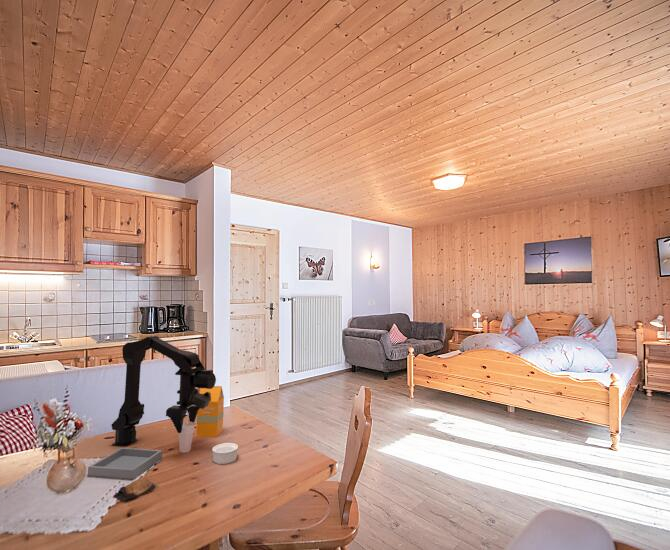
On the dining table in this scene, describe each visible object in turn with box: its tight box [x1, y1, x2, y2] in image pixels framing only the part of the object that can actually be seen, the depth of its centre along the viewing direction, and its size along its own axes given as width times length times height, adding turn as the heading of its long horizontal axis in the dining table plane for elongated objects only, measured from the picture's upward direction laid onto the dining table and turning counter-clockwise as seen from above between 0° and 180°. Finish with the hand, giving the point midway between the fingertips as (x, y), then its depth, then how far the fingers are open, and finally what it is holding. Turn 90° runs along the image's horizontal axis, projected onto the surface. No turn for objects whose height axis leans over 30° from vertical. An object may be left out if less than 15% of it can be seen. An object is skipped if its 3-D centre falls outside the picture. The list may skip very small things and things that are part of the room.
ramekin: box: [211, 442, 239, 465], centre depth 131 cm, size 9×9×4 cm
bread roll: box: [112, 477, 160, 504], centre depth 108 cm, size 11×8×4 cm
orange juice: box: [195, 385, 225, 438], centre depth 156 cm, size 8×9×20 cm
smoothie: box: [177, 412, 196, 454], centre depth 138 cm, size 6×6×14 cm
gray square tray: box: [87, 447, 163, 481], centre depth 123 cm, size 16×16×3 cm
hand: (186, 428), depth 138 cm, fingers open, 9 cm apart
